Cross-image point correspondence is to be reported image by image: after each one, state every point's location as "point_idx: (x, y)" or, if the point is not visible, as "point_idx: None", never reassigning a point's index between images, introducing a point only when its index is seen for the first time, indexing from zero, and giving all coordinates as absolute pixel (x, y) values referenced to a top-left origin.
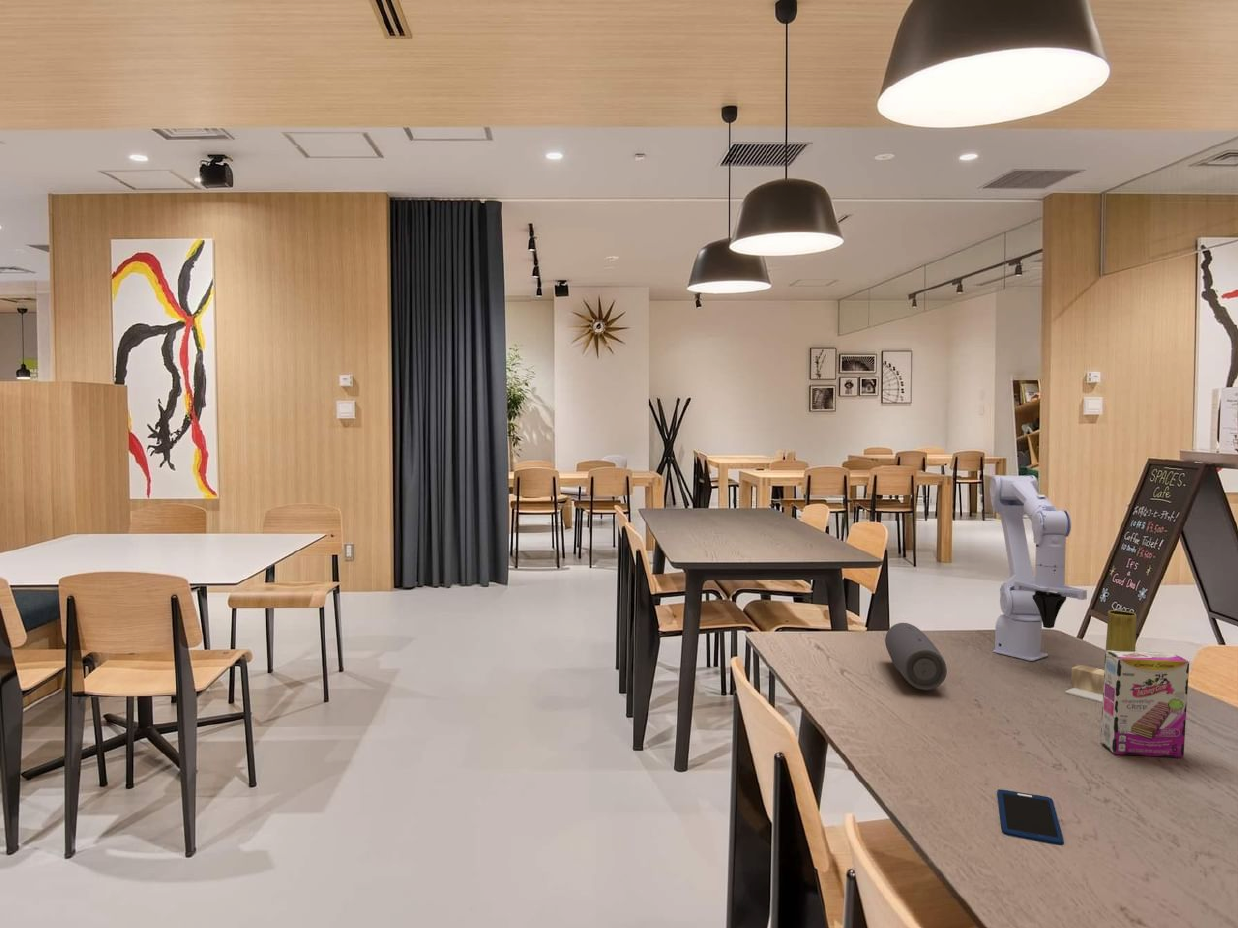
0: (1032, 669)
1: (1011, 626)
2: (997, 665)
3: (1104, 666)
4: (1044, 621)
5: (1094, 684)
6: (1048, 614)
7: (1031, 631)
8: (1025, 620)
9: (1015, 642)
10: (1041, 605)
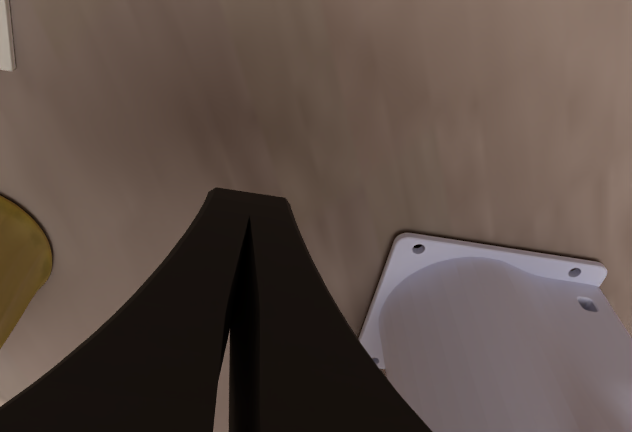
0: (365, 91)
1: (579, 396)
2: (572, 26)
3: (27, 269)
4: (267, 227)
5: None
6: (189, 291)
7: (445, 389)
8: None
9: (515, 309)
10: (312, 412)
